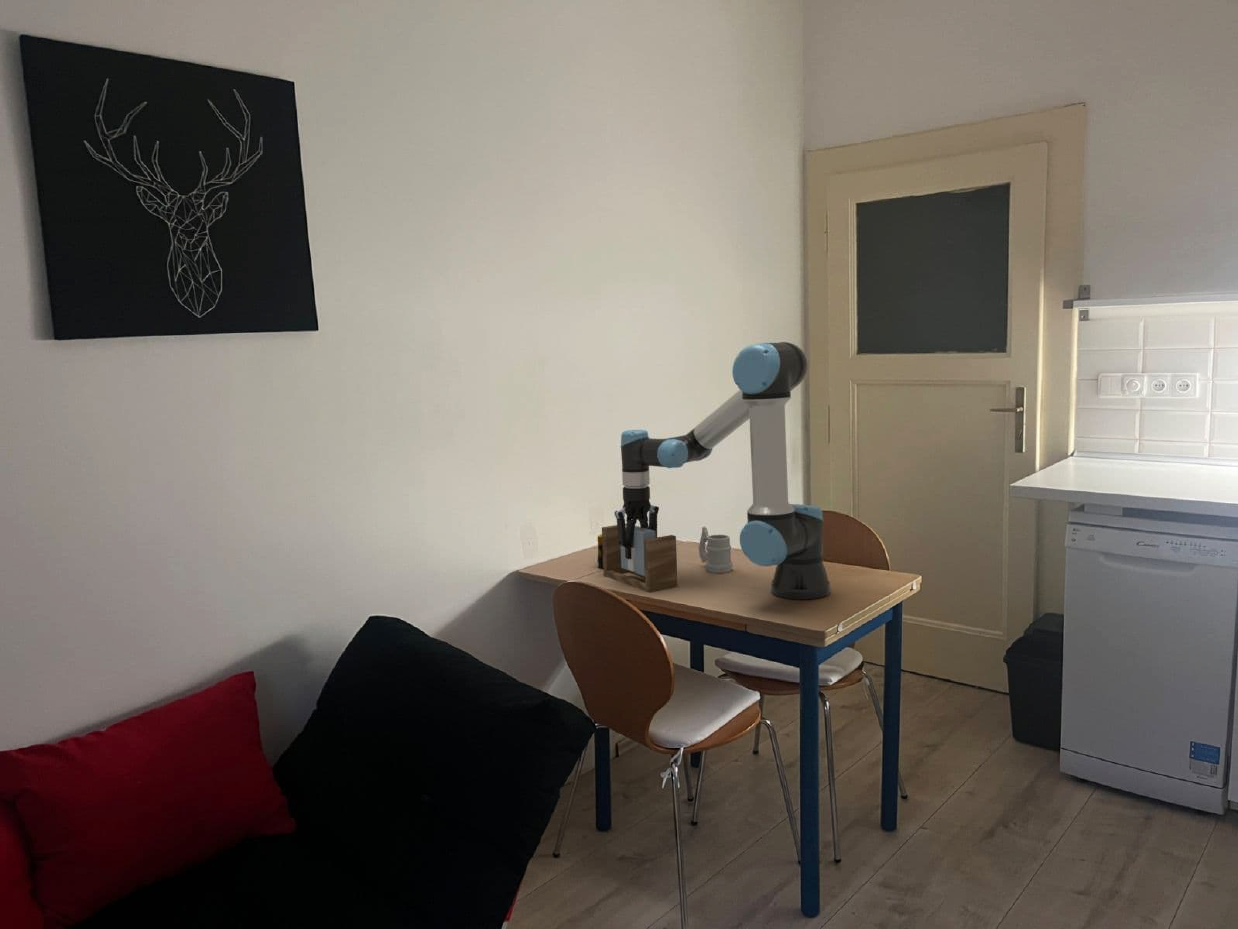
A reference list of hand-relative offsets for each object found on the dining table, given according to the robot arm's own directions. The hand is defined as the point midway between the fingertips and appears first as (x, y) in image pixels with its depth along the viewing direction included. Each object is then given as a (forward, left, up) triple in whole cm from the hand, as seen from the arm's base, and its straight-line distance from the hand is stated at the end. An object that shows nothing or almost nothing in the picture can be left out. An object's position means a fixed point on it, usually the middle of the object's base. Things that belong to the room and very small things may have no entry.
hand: (638, 568), depth 257 cm
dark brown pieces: (+19, -5, -4) cm, 20 cm away
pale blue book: (0, 0, -1) cm, 1 cm away
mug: (-3, -24, -4) cm, 24 cm away
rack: (0, 0, -3) cm, 3 cm away
